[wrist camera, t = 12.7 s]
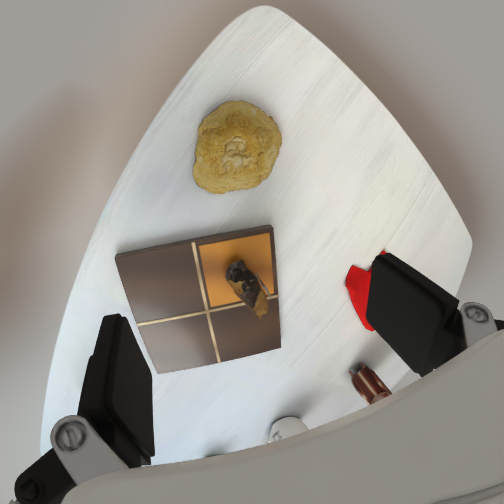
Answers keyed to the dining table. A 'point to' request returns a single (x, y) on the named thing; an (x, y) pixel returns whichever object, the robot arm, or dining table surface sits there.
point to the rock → (248, 287)
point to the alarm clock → (369, 385)
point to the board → (201, 299)
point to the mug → (286, 429)
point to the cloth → (360, 291)
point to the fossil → (235, 148)
